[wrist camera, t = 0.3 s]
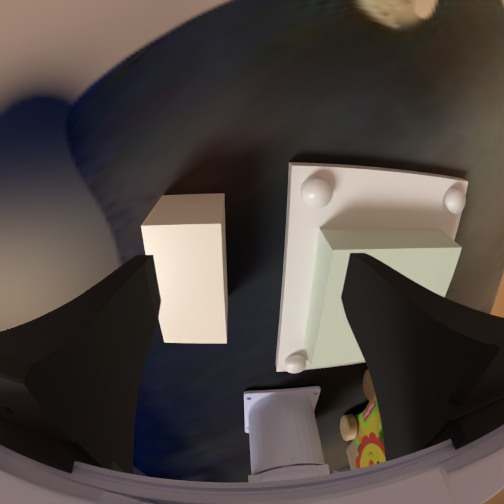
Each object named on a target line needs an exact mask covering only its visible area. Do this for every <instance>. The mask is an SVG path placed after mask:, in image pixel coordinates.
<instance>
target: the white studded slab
mask: <svg viewBox="0 0 504 504" xmlns="http://www.w3.org/2000/svg"><path fill="white" fill-rule="evenodd" d="M467 185H468V181H466V180H464V179H462V178H458V177H452V176H446V175H439V174H432V173H425V172H417V171H409V170H400V169H391V168H381V167H369V166H357V165H342V164H325V163H300V162H289V172H288V195H287V215H286V232H285V249H284V264H283V279H282V293H281V306H280V318H279V330H278V342H277V353H276V371H277V372H281V371H287V372H289V373H299V372H302V371H303V370H307V369H318V368H327V367H336V366H344V365H352V364H359V363H366V362H365V360H364V357H363V355H362V353H361V350H360V348H359V346H358V343H357V341H356V339H355V337H354V334H353V332H352V330H351V327H350V325H349V323H348V320H347V318H346V314H345V311H344V307H343V304H342V300H341V295H342V290H343V286H344V281H345V276H346V271H347V266H348V261H349V256H350V253H366V254H368V255H370V256H372V257H374V258H376V259H378V260H380V261H381V262H383V263H385V264H386V265H388V266H389V267H391V268H393V269H394V270H396V271H398V272H399V273H401V274H402V275H404V276H406V277H407V278H409V279H411V280H413V281H414V282H416V283H418V284H420V285H421V286H423V287H425V288H427V289H428V290H430V291H432V292H434V293H436V294H438V295H440V296H443V297H445V295H446V292H447V290H448V287H449V285H450V282H451V279H452V276H453V274H454V271H455V268H456V265H457V262H458V259H459V256H460V253H461V249H462V247H461V246H460V245H459V244H458V243H456V242H455V241H454V240H455V236H456V232H457V229H458V225H459V221H460V217H461V213H462V210H463V208H464V206H465V203H466V196H465V195H466V190H467Z"/></svg>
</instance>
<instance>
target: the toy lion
mask: <svg viewBox="0 0 504 504" xmlns="http://www.w3.org/2000/svg"><path fill="white" fill-rule="evenodd" d="M363 390H364V394H365V397H366V398H367V399H368V400H369V401H370V402H369V404H368V406H367V407H366V409H365V410H364V411H363V412H362V413H360V414H356V415H355V416H354V415H353V414H347V415H343V416H342V417H341V421H340V431H341V435H342V438H343V439H344V440H346V441H347V440H352V439H355V442H356V446H357V455H356V458H355V465H356V469H358V468H363V467H367V466H371V465H375V464H379V463H382V462H386V459H385V448H384V438H383V431H382V425H381V419H380V413H379V408H378V404H377V399H376V395H375V391H374V387H373V383H372V380H371V376H370V373H369V370H368V369H367V370H366V371H365V373H364V377H363Z"/></svg>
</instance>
